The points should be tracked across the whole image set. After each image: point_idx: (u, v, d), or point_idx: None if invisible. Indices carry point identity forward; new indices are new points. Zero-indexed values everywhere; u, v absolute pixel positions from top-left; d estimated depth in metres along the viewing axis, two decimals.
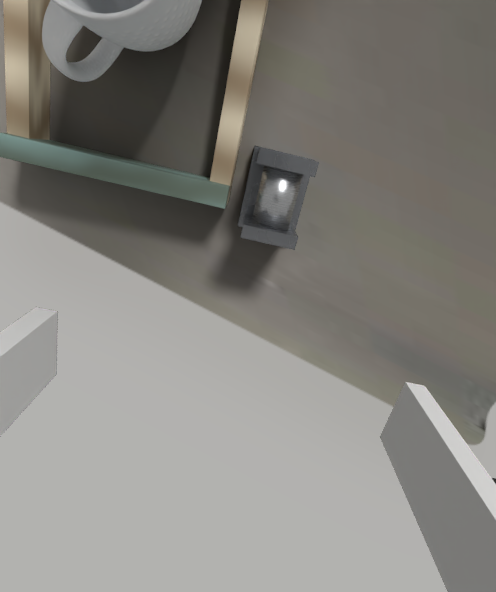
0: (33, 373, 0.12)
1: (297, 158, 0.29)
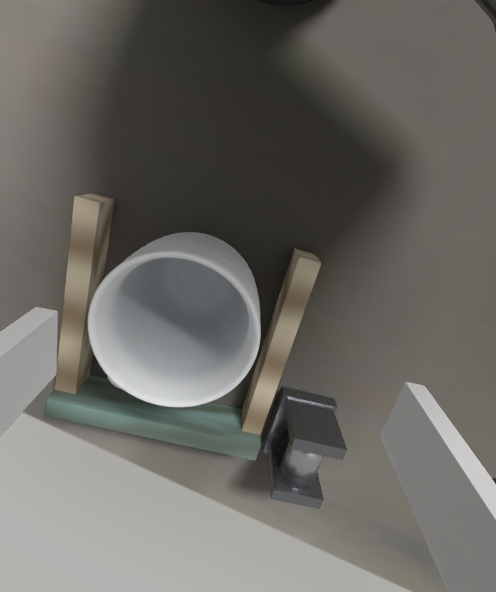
0: (33, 373, 0.12)
1: (328, 446, 0.32)
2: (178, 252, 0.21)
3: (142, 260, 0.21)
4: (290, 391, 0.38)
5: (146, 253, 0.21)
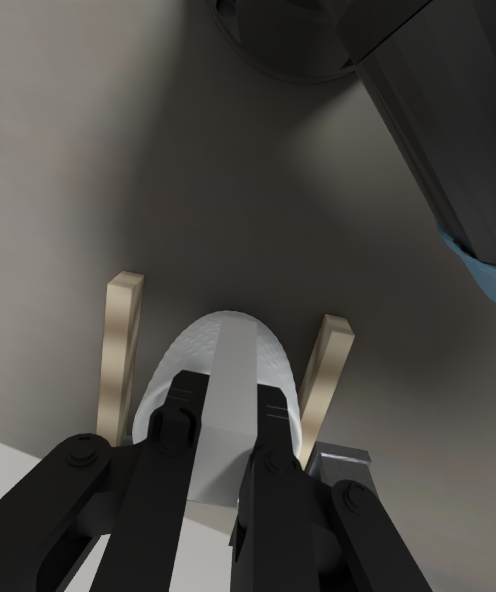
0: None
1: None
2: None
3: None
4: (323, 446, 0.39)
5: None
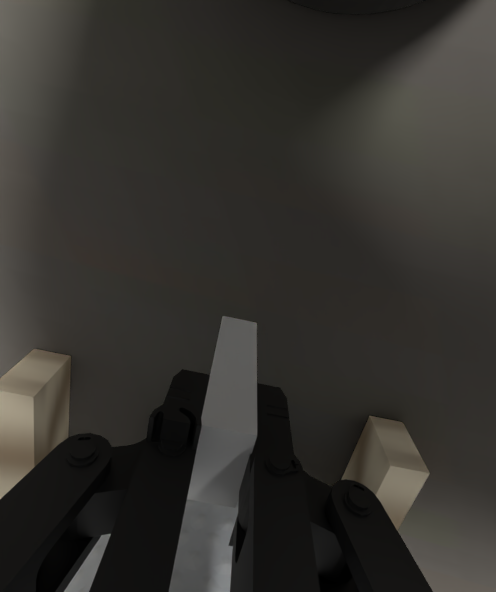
0: None
1: None
2: None
3: None
4: None
5: None
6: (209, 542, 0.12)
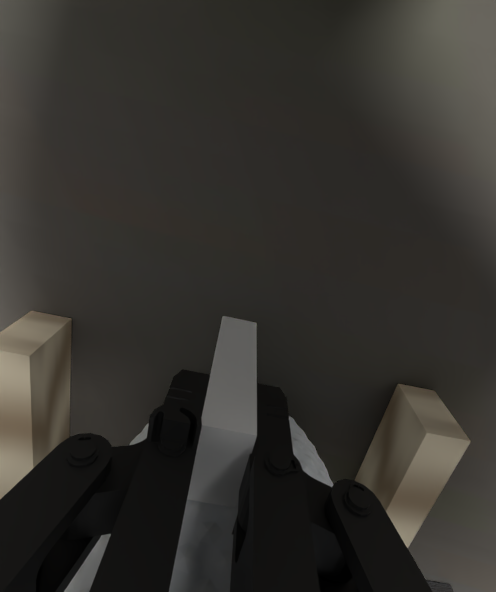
0: None
1: None
2: None
3: None
4: None
5: None
6: (227, 513, 0.10)
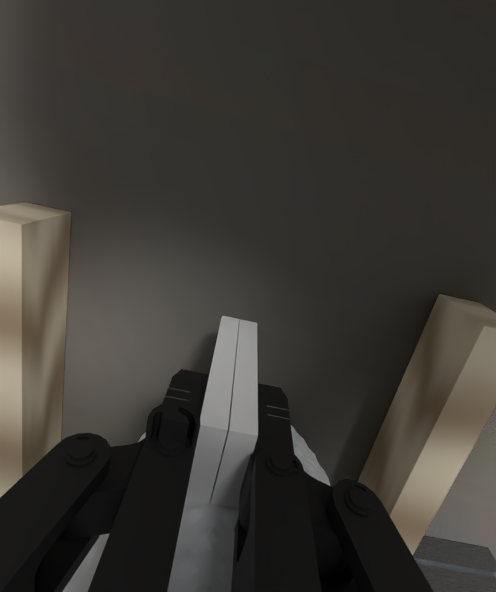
0: None
1: None
2: None
3: None
4: None
5: None
6: (226, 518, 0.10)
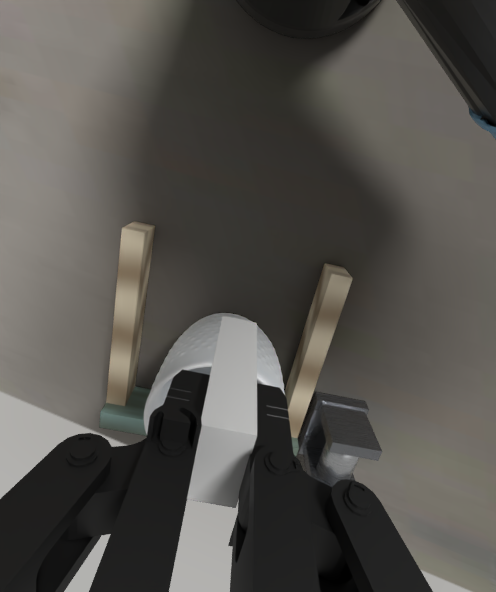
0: None
1: (364, 449, 0.34)
2: None
3: None
4: (323, 396, 0.41)
5: (190, 364, 0.25)
6: None
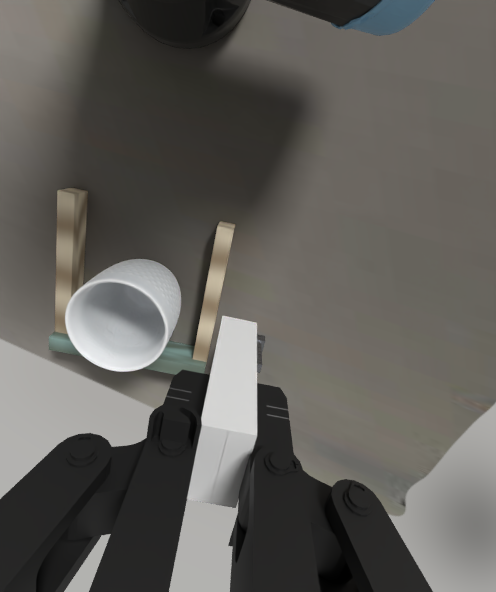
0: None
1: None
2: (112, 279, 0.35)
3: (92, 285, 0.36)
4: None
5: (94, 280, 0.35)
6: (131, 267, 0.39)
